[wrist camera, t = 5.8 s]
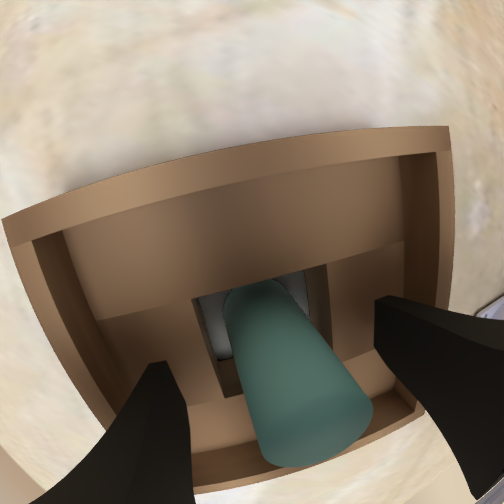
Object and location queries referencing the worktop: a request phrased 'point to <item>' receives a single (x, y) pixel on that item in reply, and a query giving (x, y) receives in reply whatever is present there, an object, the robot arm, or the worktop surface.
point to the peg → (291, 378)
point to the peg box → (240, 271)
